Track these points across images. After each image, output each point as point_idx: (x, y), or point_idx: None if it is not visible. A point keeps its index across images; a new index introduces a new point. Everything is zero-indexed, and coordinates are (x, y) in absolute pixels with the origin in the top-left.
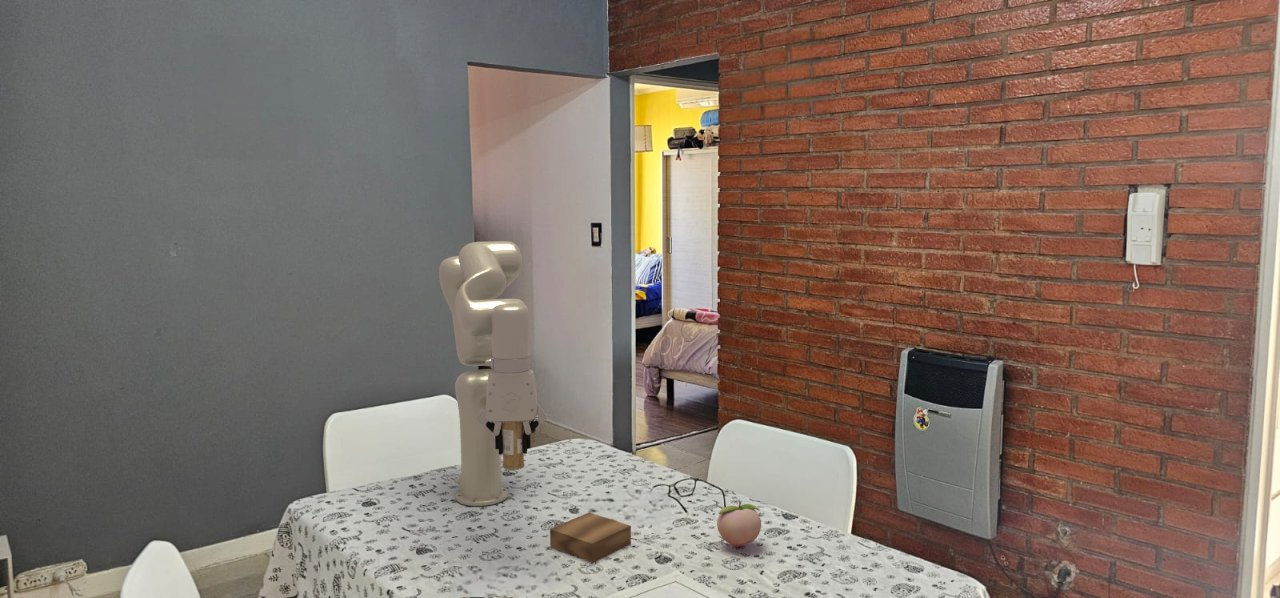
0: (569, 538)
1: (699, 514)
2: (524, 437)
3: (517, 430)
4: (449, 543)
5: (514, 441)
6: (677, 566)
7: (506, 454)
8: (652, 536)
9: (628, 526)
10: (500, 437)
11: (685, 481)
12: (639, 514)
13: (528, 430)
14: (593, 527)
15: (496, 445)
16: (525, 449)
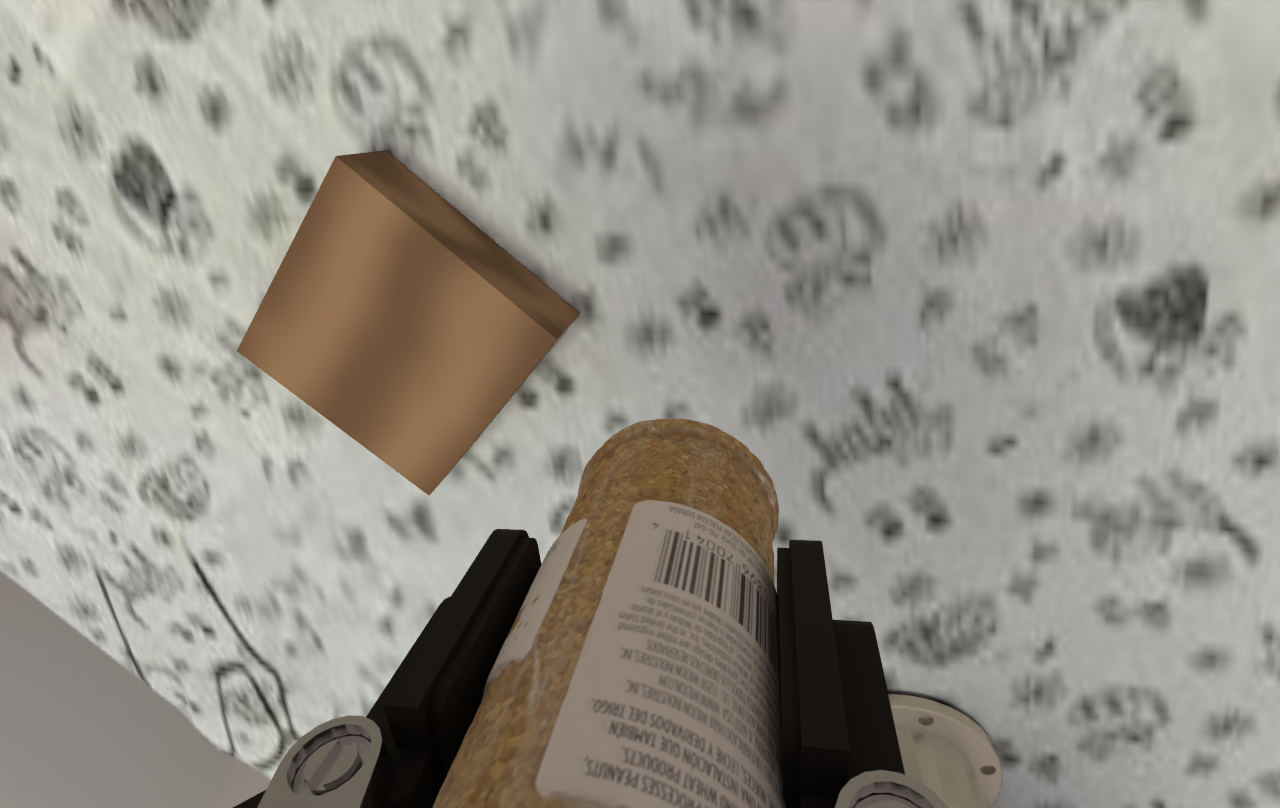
0: (461, 253)
1: (150, 537)
2: (424, 676)
3: (468, 794)
4: (1029, 378)
5: (578, 620)
6: (75, 114)
7: (722, 523)
8: (237, 386)
9: (243, 345)
10: (805, 719)
11: (259, 752)
12: (326, 559)
13: (314, 787)
14: (376, 343)
15: (861, 652)
16: (490, 557)
